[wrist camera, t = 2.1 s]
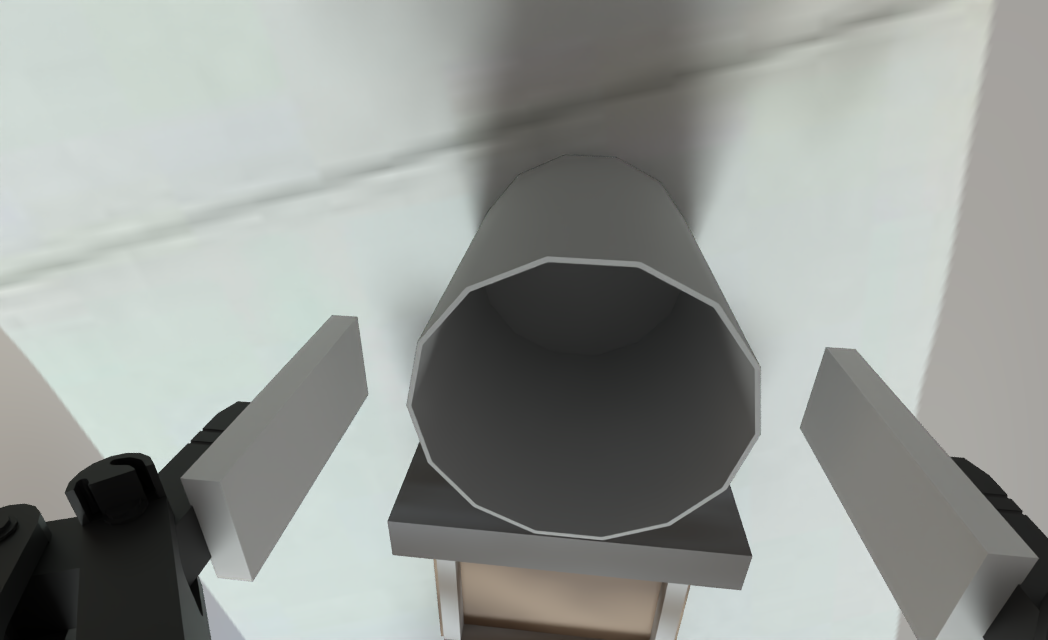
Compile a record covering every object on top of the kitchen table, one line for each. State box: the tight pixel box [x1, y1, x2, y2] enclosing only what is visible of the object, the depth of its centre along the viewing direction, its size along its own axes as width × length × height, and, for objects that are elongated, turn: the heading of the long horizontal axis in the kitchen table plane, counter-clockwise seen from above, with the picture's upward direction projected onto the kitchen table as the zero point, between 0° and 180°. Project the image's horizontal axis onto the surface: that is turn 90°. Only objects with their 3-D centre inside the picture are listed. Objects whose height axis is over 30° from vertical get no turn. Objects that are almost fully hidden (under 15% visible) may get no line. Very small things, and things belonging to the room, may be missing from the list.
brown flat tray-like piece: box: [388, 442, 752, 640], centre depth 27 cm, size 16×14×6 cm
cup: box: [406, 155, 761, 540], centre depth 17 cm, size 8×8×10 cm
